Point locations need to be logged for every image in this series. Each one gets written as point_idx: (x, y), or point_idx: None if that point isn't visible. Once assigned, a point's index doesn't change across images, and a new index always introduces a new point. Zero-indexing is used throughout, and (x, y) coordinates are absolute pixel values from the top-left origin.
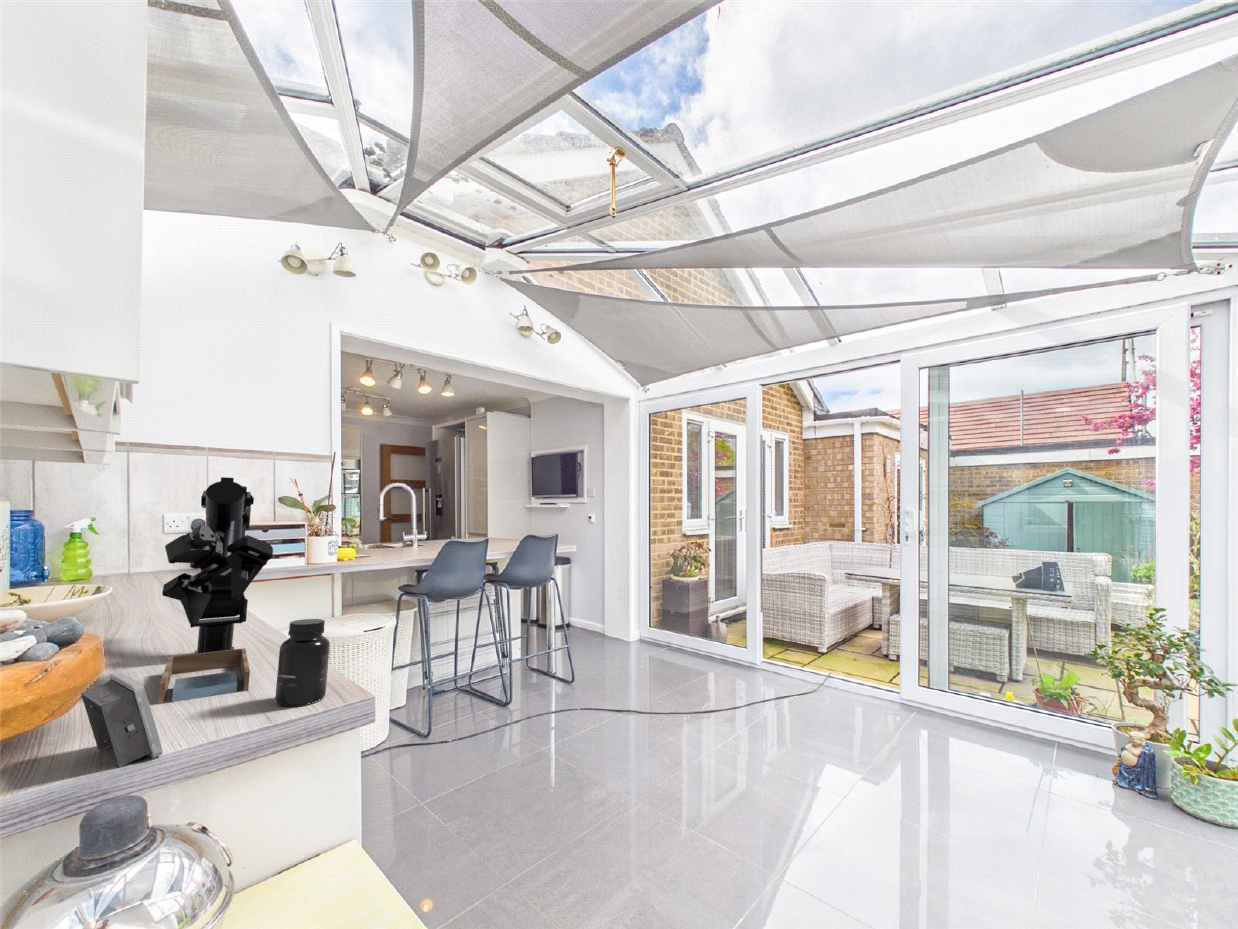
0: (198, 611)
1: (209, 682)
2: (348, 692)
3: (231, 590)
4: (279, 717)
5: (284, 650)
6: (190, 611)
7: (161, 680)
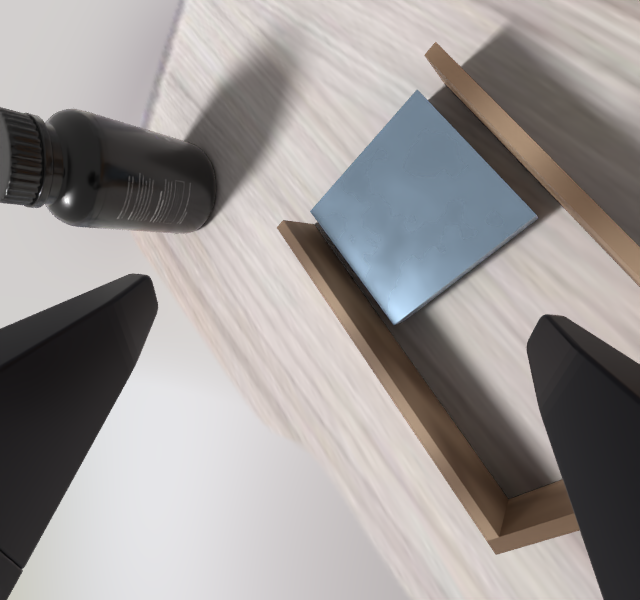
0: (579, 447)
1: (380, 196)
2: (153, 245)
3: (110, 297)
4: (174, 100)
5: (79, 110)
6: (601, 375)
7: (459, 68)
